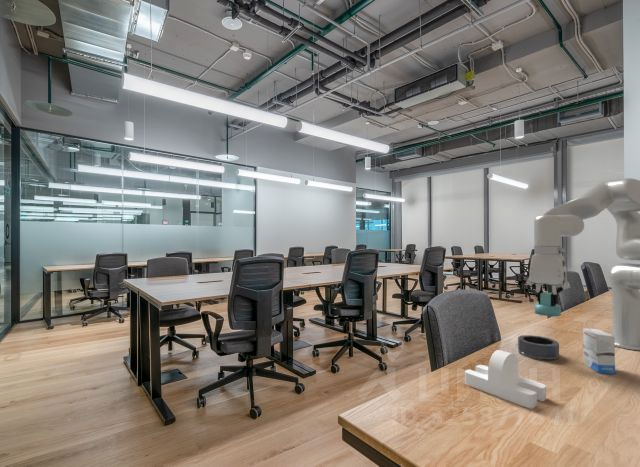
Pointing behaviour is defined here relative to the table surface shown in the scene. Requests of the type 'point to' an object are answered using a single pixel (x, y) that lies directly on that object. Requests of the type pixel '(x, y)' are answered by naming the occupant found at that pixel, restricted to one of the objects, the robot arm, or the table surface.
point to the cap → (547, 306)
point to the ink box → (599, 350)
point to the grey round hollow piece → (538, 347)
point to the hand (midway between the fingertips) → (547, 304)
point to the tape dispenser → (505, 380)
